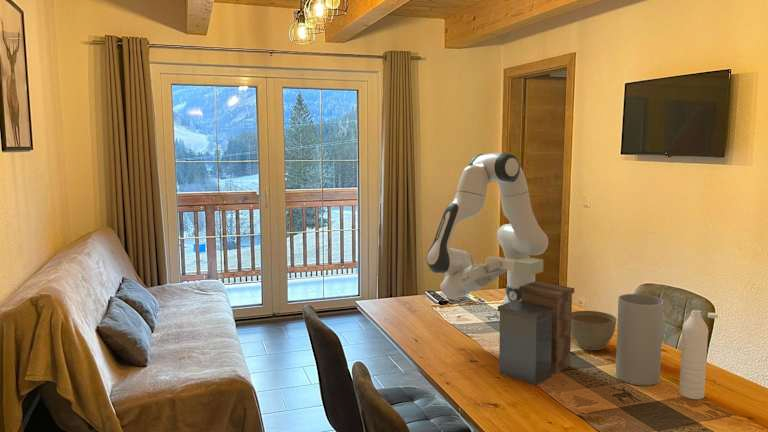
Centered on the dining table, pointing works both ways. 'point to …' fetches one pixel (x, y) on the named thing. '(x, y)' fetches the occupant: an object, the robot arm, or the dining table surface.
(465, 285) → the robot arm
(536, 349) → the dark grey box
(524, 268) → the mallet
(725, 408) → the dining table surface
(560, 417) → the dining table surface
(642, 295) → the cylinder vase
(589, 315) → the planter bowl
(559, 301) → the tall stand
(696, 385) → the water bottle
